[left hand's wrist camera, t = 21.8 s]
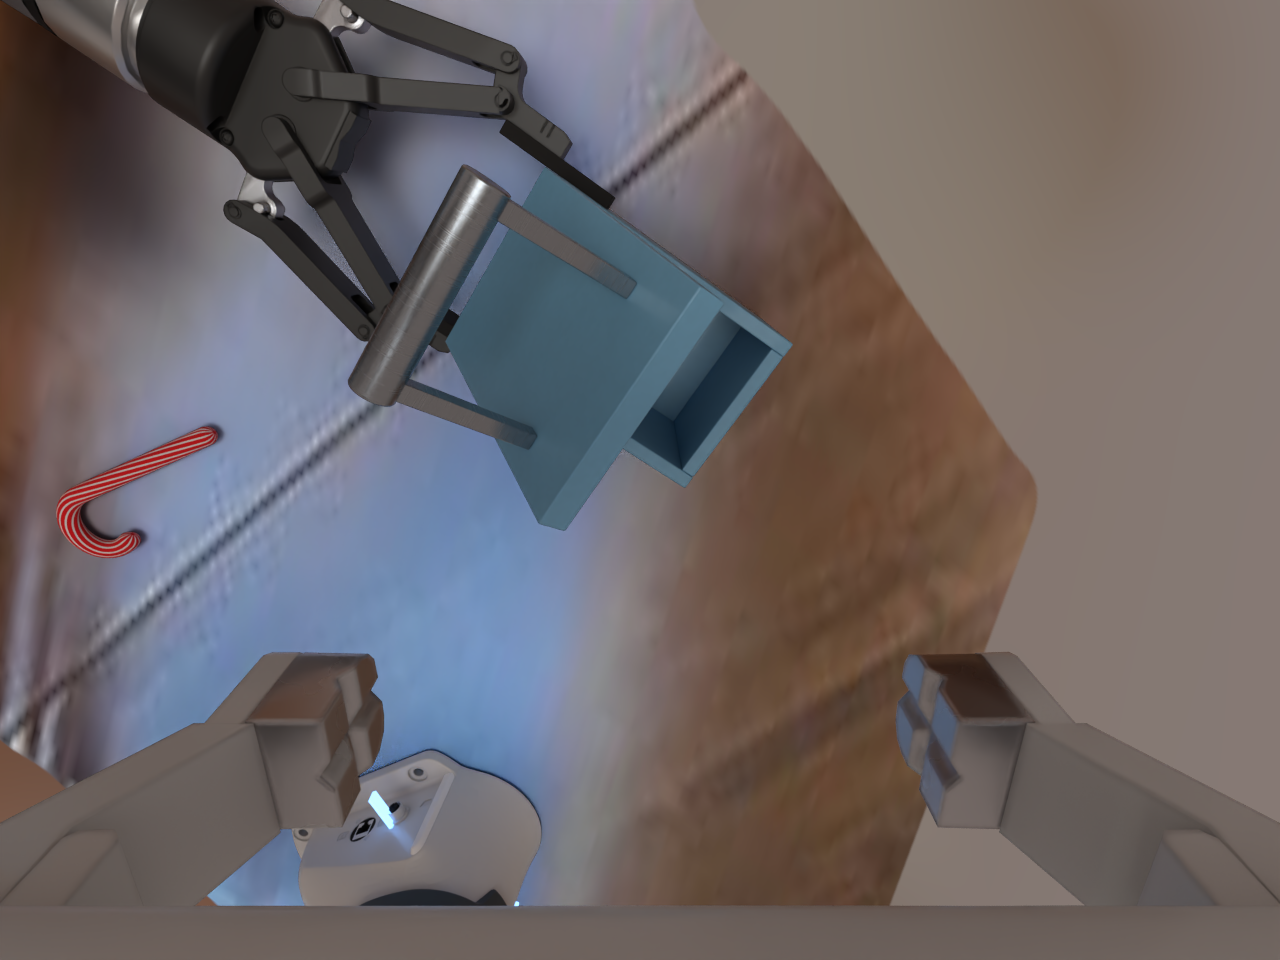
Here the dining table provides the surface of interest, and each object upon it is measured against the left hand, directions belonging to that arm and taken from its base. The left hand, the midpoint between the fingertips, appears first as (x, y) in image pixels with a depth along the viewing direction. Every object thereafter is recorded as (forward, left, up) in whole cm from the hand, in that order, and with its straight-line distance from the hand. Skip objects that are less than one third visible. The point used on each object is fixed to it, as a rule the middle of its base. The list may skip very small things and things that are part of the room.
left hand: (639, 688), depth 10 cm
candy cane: (-38, -2, -39) cm, 54 cm away
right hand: (-4, +4, -32) cm, 32 cm away
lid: (-3, +3, -21) cm, 21 cm away
